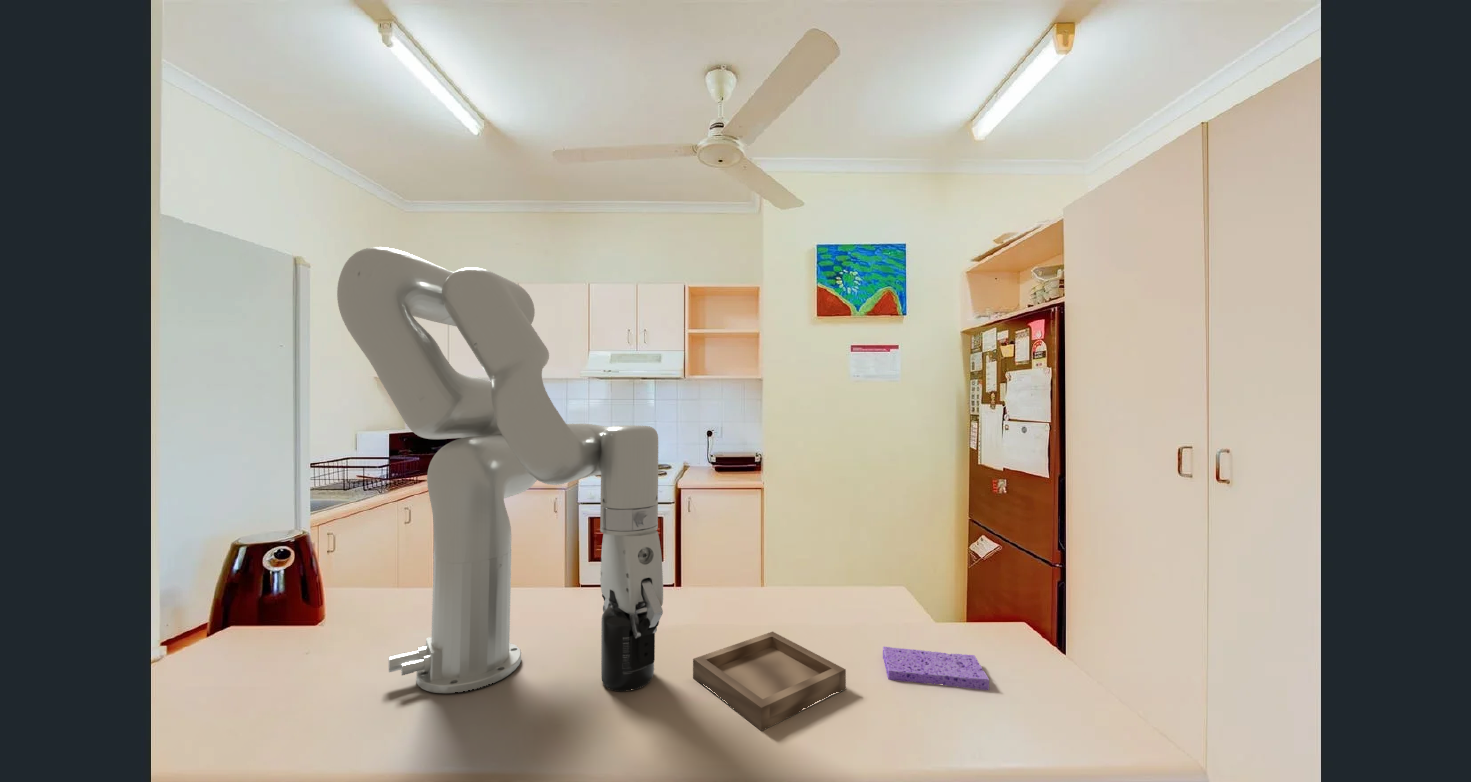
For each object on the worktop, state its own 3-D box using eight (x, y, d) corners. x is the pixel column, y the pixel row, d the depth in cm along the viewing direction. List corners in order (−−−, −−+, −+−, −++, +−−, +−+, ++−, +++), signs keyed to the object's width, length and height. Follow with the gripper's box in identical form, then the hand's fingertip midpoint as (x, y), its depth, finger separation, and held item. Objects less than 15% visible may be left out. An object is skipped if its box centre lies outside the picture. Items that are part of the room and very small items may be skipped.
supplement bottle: (659, 667, 70) (660, 579, 70) (645, 695, 63) (646, 596, 64) (611, 665, 71) (612, 577, 71) (592, 691, 64) (593, 594, 64)
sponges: (989, 694, 64) (989, 679, 64) (886, 683, 67) (886, 668, 67) (975, 667, 71) (975, 654, 71) (882, 658, 74) (882, 645, 74)
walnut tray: (761, 731, 56) (761, 707, 56) (692, 678, 67) (693, 658, 67) (845, 689, 64) (845, 669, 65) (772, 648, 76) (772, 631, 76)
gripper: (687, 526, 63) (687, 671, 62) (627, 505, 77) (625, 624, 76) (632, 534, 59) (631, 692, 58) (578, 511, 72) (576, 638, 72)
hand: (628, 652), depth 67 cm, fingers open, 7 cm apart
